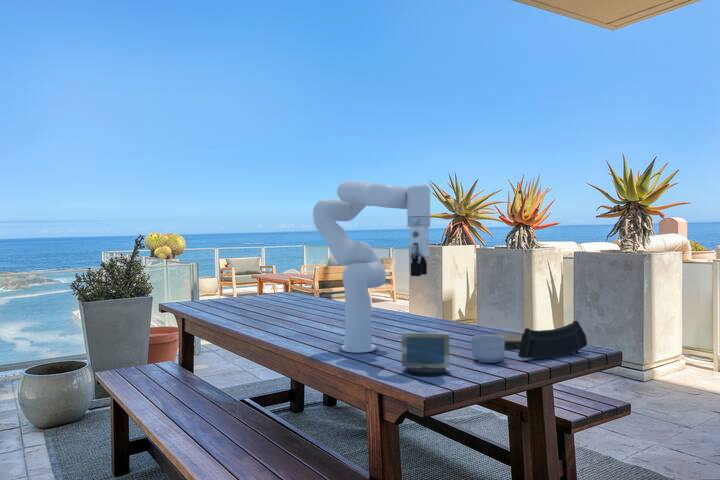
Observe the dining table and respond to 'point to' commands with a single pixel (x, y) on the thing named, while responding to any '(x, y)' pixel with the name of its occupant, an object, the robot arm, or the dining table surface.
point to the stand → (426, 371)
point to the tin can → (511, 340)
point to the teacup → (488, 348)
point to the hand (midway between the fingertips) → (419, 275)
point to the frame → (425, 349)
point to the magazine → (552, 342)
